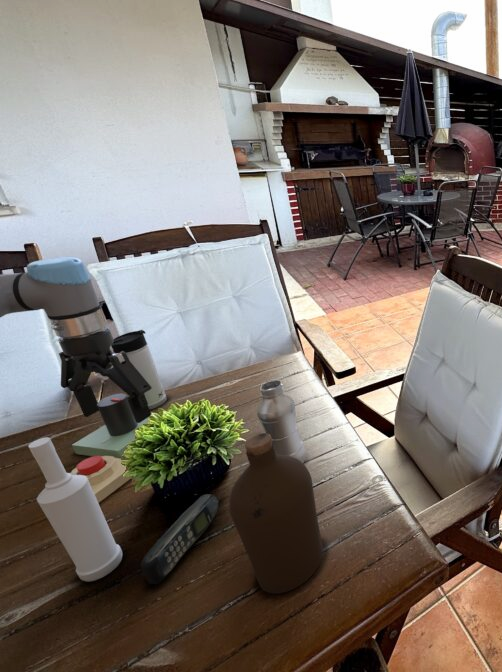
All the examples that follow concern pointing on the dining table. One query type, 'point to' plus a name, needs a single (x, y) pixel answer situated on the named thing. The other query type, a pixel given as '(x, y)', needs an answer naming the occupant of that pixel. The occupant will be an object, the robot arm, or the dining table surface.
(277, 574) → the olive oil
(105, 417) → the timer dial
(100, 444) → the control panel
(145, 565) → the mobile phone
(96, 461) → the power button
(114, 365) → the robot arm
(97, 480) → the button block
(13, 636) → the dining table surface
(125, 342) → the travel mug
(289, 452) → the plastic bottle
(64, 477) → the bottle
